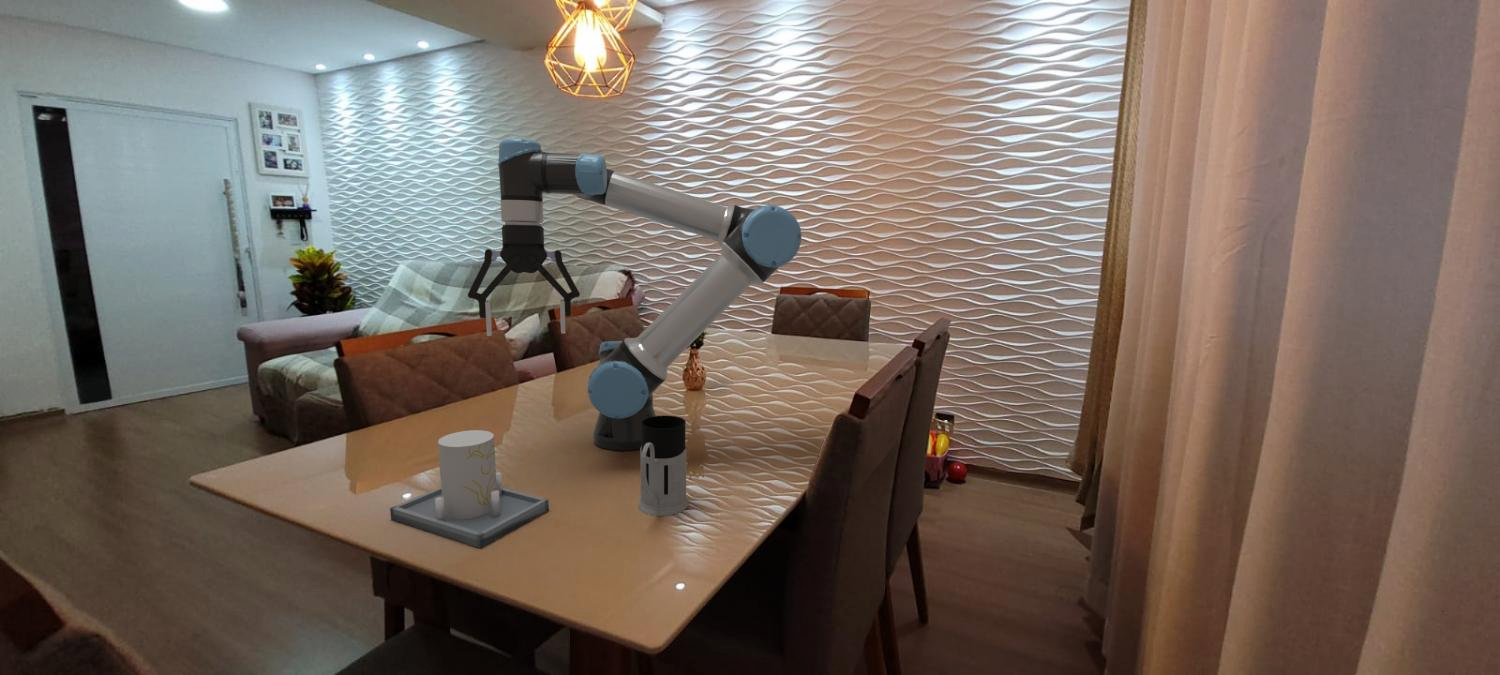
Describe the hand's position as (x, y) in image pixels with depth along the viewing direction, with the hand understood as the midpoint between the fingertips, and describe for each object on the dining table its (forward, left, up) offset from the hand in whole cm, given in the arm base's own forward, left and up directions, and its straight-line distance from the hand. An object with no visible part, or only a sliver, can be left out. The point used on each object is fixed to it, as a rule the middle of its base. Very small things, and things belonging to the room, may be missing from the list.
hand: (527, 333), depth 116 cm
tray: (+8, +22, -27) cm, 36 cm away
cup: (+8, +22, -26) cm, 35 cm away
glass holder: (-22, +28, -27) cm, 45 cm away
